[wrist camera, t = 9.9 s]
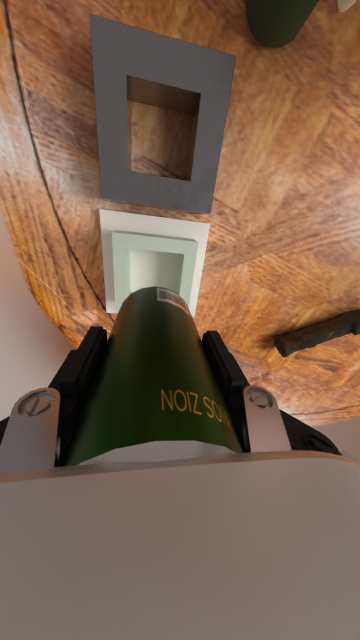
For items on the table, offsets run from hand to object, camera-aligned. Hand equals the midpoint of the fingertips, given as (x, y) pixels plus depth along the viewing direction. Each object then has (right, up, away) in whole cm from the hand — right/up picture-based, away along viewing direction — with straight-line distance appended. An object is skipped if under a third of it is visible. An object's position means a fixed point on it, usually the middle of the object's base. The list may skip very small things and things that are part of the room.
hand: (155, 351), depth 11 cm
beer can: (-1, +2, +4) cm, 5 cm away
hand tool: (+29, +1, +26) cm, 39 cm away
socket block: (-1, +22, +11) cm, 24 cm away
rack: (-2, +9, +17) cm, 20 cm away
